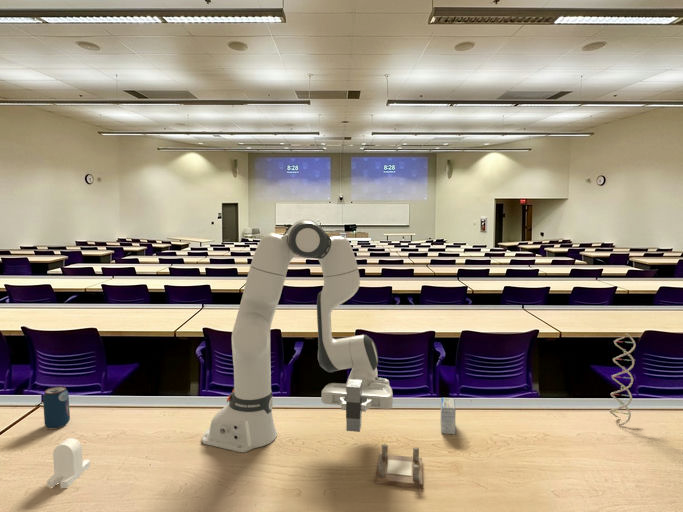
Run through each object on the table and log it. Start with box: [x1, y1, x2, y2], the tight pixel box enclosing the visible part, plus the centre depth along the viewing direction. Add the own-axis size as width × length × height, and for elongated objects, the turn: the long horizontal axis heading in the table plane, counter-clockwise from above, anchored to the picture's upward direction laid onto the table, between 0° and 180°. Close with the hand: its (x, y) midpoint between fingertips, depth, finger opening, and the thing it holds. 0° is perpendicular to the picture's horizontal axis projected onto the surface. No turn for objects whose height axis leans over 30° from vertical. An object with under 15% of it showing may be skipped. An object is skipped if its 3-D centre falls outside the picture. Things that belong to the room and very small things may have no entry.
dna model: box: [609, 332, 637, 426], centre depth 142 cm, size 7×6×30 cm
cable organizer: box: [46, 437, 91, 489], centre depth 113 cm, size 5×10×10 cm, turn 178°
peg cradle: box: [374, 443, 424, 489], centre depth 115 cm, size 12×12×5 cm
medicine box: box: [440, 397, 457, 435], centre depth 139 cm, size 8×4×9 cm, turn 168°
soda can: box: [42, 385, 71, 429], centre depth 140 cm, size 7×7×12 cm
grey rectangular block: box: [345, 379, 363, 433], centre depth 116 cm, size 4×5×13 cm
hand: (353, 408), depth 115 cm, fingers closed on grey rectangular block, 4 cm apart
